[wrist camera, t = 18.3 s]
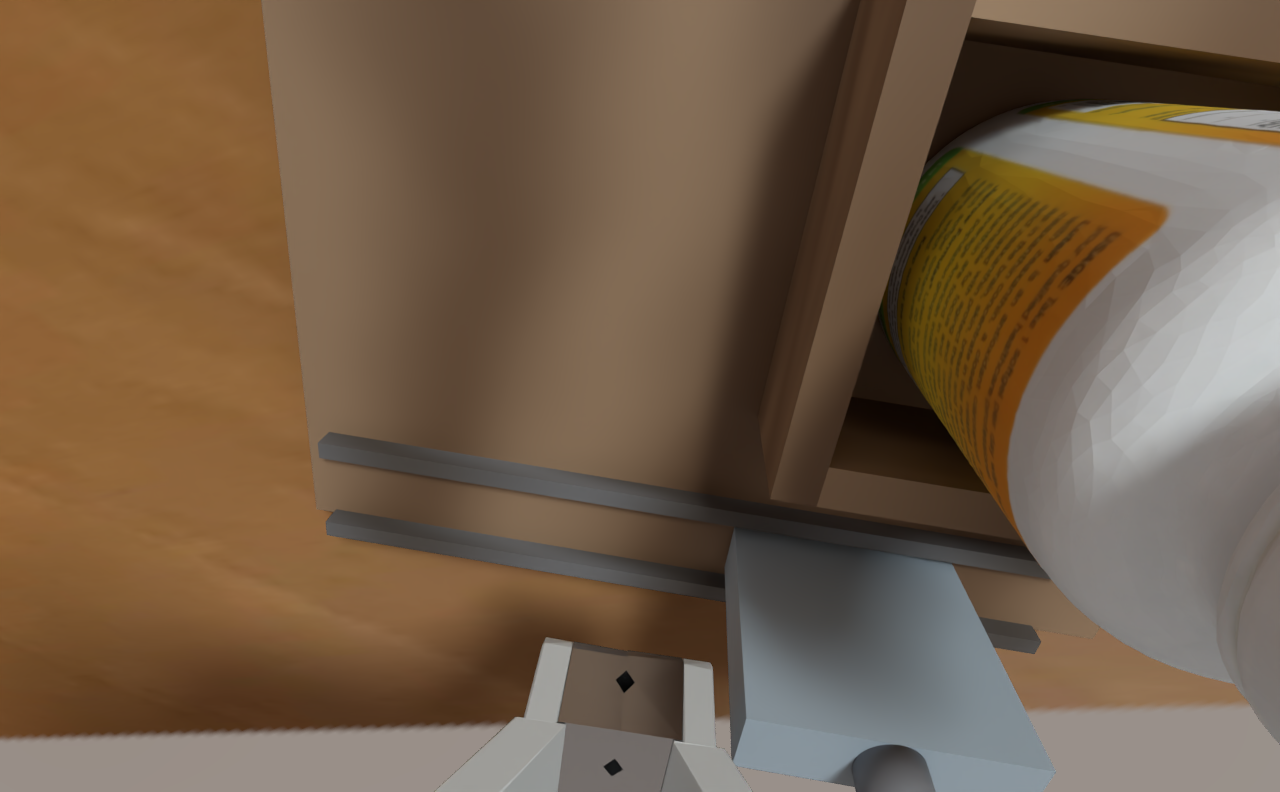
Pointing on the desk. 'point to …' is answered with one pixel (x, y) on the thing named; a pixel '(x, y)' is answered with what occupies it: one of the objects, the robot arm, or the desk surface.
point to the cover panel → (868, 673)
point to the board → (667, 265)
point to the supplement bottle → (1116, 361)
